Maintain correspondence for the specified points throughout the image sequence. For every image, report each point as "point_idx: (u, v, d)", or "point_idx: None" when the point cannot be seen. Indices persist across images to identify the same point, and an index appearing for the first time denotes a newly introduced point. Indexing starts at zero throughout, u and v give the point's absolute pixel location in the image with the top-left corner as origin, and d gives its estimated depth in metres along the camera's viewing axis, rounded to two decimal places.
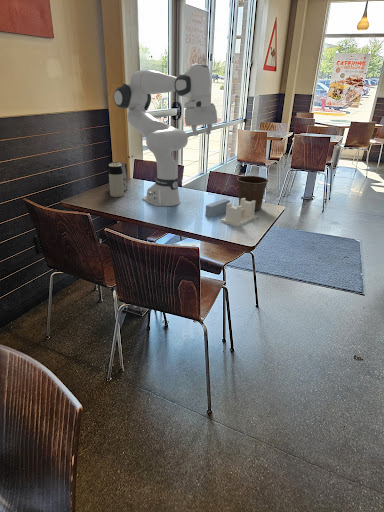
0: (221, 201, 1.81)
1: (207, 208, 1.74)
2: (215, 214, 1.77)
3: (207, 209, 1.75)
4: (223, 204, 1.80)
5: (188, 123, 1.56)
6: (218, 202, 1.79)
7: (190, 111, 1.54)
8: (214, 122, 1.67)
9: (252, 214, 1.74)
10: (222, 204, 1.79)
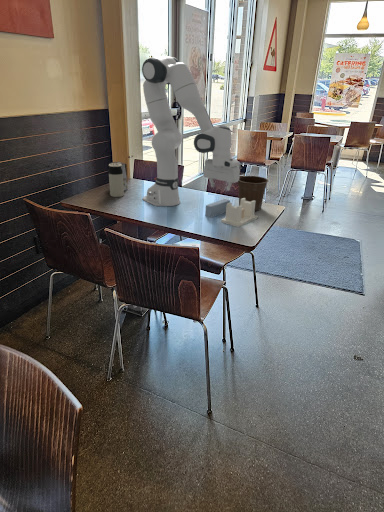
0: (221, 201, 1.81)
1: (207, 208, 1.75)
2: (215, 214, 1.77)
3: (207, 209, 1.75)
4: (223, 204, 1.80)
5: (237, 180, 1.67)
6: (218, 202, 1.79)
7: (238, 169, 1.66)
8: None
9: (252, 214, 1.74)
10: (222, 204, 1.79)
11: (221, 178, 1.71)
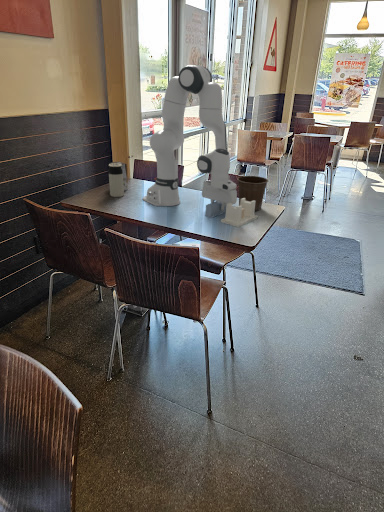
0: None
1: (207, 208, 1.74)
2: (215, 214, 1.77)
3: (207, 209, 1.75)
4: None
5: (234, 202, 1.72)
6: (218, 202, 1.79)
7: (235, 192, 1.71)
8: None
9: (252, 214, 1.74)
10: (222, 204, 1.79)
11: (219, 199, 1.76)
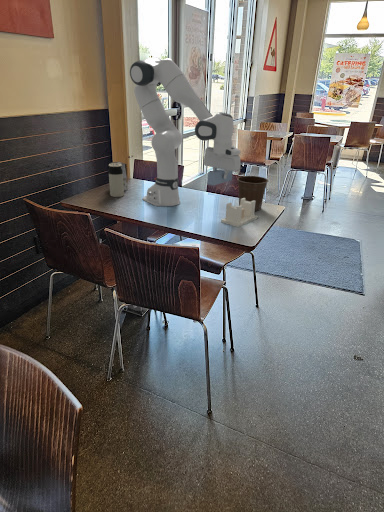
0: None
1: (209, 175, 1.67)
2: (217, 182, 1.70)
3: (209, 176, 1.67)
4: None
5: (238, 169, 1.65)
6: (220, 170, 1.72)
7: (239, 158, 1.64)
8: None
9: (252, 214, 1.74)
10: (224, 172, 1.72)
11: (221, 167, 1.68)
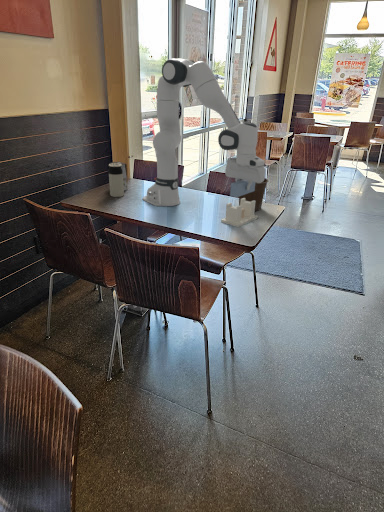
0: None
1: (232, 186, 1.60)
2: (241, 193, 1.63)
3: (232, 188, 1.60)
4: None
5: (262, 180, 1.58)
6: (243, 180, 1.65)
7: (263, 169, 1.57)
8: None
9: (252, 214, 1.74)
10: (247, 183, 1.65)
11: (245, 178, 1.62)
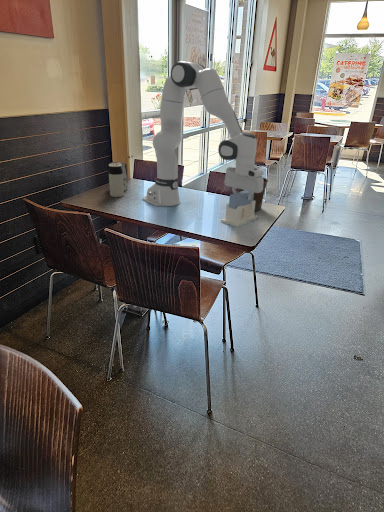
0: (245, 191, 1.69)
1: (231, 198, 1.63)
2: (239, 205, 1.66)
3: (231, 199, 1.63)
4: (247, 194, 1.68)
5: (261, 190, 1.60)
6: (242, 192, 1.68)
7: (262, 179, 1.59)
8: None
9: (252, 214, 1.74)
10: (246, 194, 1.67)
11: (244, 188, 1.64)
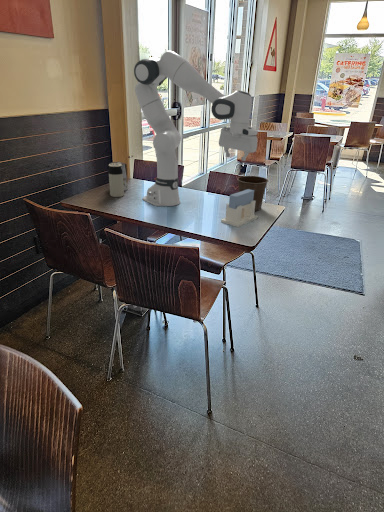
0: (245, 191, 1.69)
1: (231, 198, 1.63)
2: (239, 205, 1.66)
3: (231, 199, 1.63)
4: (247, 194, 1.68)
5: (254, 150, 1.61)
6: (242, 192, 1.68)
7: (256, 139, 1.60)
8: None
9: (252, 214, 1.74)
10: (246, 194, 1.67)
11: (237, 147, 1.64)
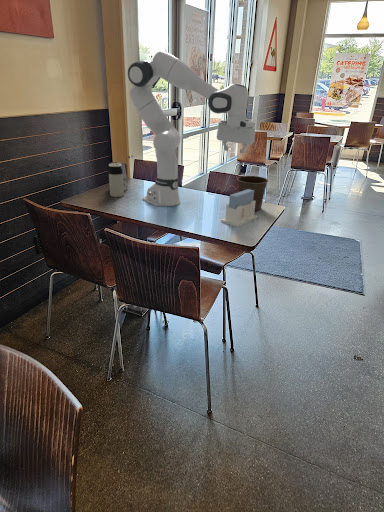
0: (245, 191, 1.69)
1: (231, 198, 1.63)
2: (239, 205, 1.66)
3: (231, 199, 1.63)
4: (247, 194, 1.68)
5: (252, 142, 1.62)
6: (242, 192, 1.68)
7: (254, 131, 1.61)
8: None
9: (252, 214, 1.74)
10: (246, 194, 1.67)
11: (235, 140, 1.65)
